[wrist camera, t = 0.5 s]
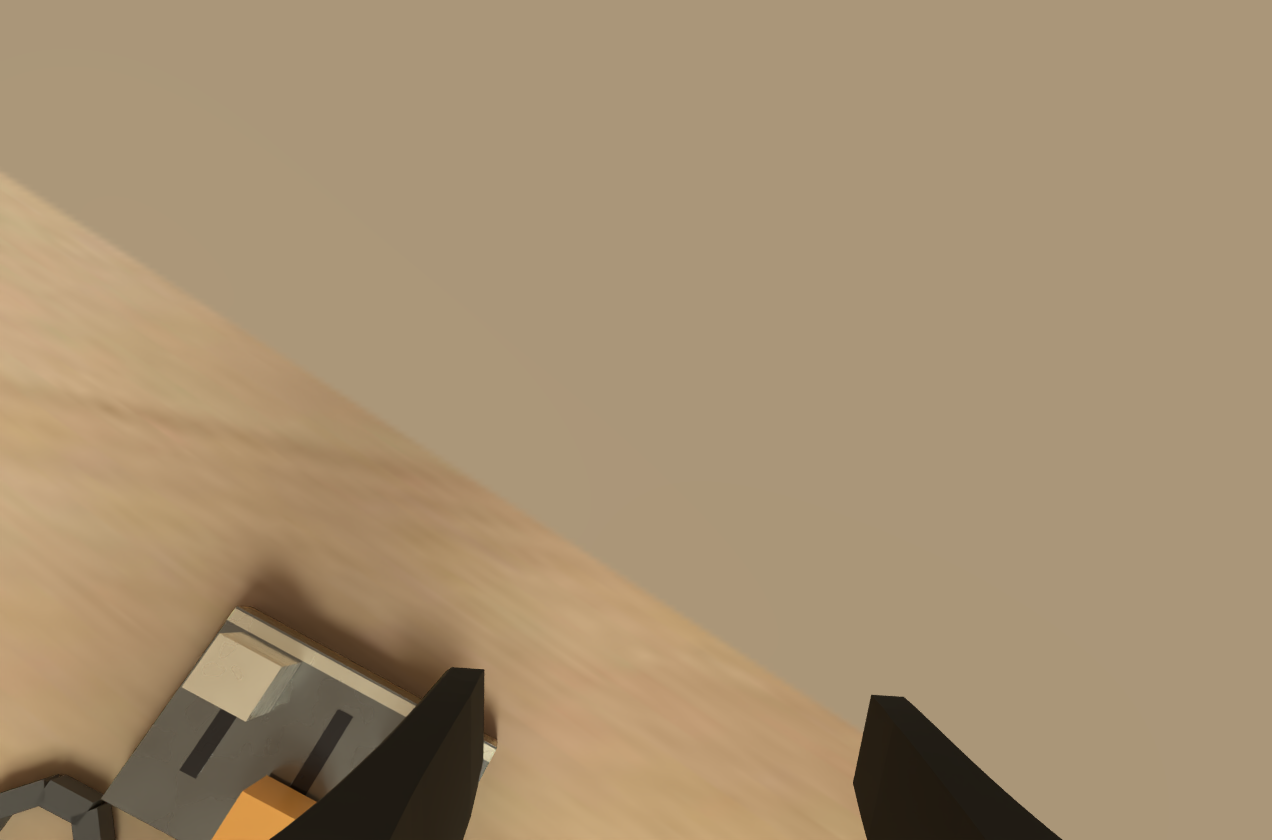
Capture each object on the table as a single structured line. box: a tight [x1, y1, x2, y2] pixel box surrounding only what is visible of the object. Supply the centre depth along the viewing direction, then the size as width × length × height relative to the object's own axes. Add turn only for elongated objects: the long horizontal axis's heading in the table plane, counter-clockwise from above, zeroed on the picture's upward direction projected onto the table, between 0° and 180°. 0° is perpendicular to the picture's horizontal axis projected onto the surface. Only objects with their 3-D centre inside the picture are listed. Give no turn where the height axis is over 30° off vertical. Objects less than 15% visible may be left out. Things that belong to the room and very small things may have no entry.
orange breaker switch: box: [211, 775, 316, 840], centre depth 28 cm, size 2×3×3 cm
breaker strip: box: [101, 606, 497, 840], centre depth 30 cm, size 9×14×5 cm, turn 63°
